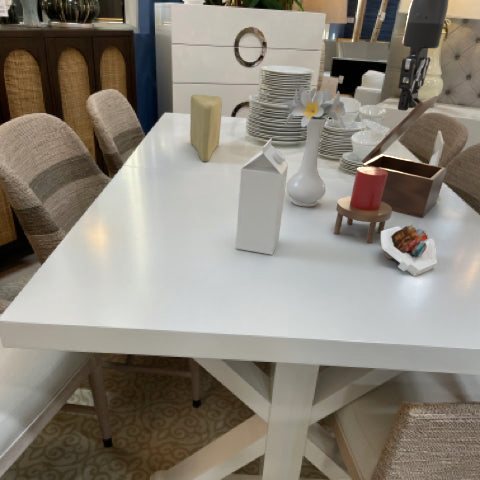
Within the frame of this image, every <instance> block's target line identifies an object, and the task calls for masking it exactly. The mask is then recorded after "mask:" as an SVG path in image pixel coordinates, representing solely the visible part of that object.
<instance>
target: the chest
mask: <svg viewBox="0 0 480 480" xmlns="http://www.w3.org/2000/svg"><path fill="white" fill-rule="evenodd" d="M361 167H375V168H380V169H383V170H385V171H387V172H388V175H387V179H386V183H385V188H384V192H383V196H382V200H381V201H382V202H384V203H386V204H388V205H389V206H390V207H391V208H392V212H395V213H396V212H397V213H400V214H405V215H408V216H412V217H416V218H420V219H423V218H424V217H425V216H426V215H427V214H428V213H429V212H430V211H431V210H432V208H434V207H435V206H436V204H437V203H438V199H439V196H440V193H441V191H442V186H443V183H444V181H445V176H446V174H447V171H448V167H444V166H440V165H434V164H431V163H425V162H421V161H414V160H411V159H406V158H401V157H395V156H391V155H386V154H383V153H382V154H381V155H379V156H377V157H375V158H373V159H371V160H369V161H368V162H366V163H362V164H361Z"/></svg>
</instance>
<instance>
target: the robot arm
mask: <svg viewBox="0 0 480 480" xmlns="http://www.w3.org/2000/svg"><path fill="white" fill-rule="evenodd" d="M448 8H449V0H411V3H410V6H409V9H408V15H407V17H406V18H407V19H406V24H405V27H404V28H405V29H404V34H403V38H402V43H401V44H402V46H403V47H405V48H409V52H408V55H407V56H406V57H403V58H402V60H401V67H400V75H399V80H398V86H397V87H398V89H399V91H400V94H399V95H400V96H399V98H398V104H397V110H398V111H403V112H405V111H408V110H409V109H414V108H415V107H414V106H413V105H412V104H411V103H410V99H411V94H412V93H411V92H417V93H418V94H419V91H421V89H422V87H423V86H424V84H425V79H426V77H427V73H428V70H429V65H430V63H431V57H428V53H429V49H437V48H439V46H440V42H441V38H442V33H443V30H444V26H445V22H446V19H447V18H446V17H447V13H448ZM414 101H415V100H414ZM415 102H416V101H415ZM416 103H417V102H416Z"/></svg>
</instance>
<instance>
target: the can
mask: <svg viewBox="0 0 480 480" xmlns="http://www.w3.org/2000/svg"><path fill="white" fill-rule="evenodd" d="M387 175H388V172H387V171H385V170H383V169H380V168H375V167H362V166H359V167H357V168H356V172H355V176H354V182H353V185H352V186H353V187H352V191H351V201H350V204H351V205H352V206H353V207H355V208H358V209H362V210H378V209H379V208H380V204H381V200H382V196H383V192H384V188H385V183H386V179H387Z"/></svg>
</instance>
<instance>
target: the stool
mask: <svg viewBox="0 0 480 480" xmlns="http://www.w3.org/2000/svg"><path fill="white" fill-rule="evenodd" d="M351 196H352V195H351ZM351 196H344V197H341V198H339V199H338V200H337V203H336V204H337V205H336V208H335V209H336V211H337V214H336V220H335V226H334V229H333V230H334V231H333V233H334V234H335V235H340V234H341V229H342V224H343V220H344V219H343V218H344V217H345V218H347V219H346V225H349V226H350V225H353V221H357V222H363V223H369V226H368V230H367V236H366V239H365V243H366V244H368V245H370V244H373V240H374V235H375V231H376V227H377V224H378V227H377V231H376V233H378V234H381V231H383V230H385V226H386V222H387V221H389V220H390V219H391V216H392V214H393V213H392V212H393V211H392V208H391V207H390V206H389V205H388V204H386V203H384V202H382V201H381V204H380V208H379V209H378V210H362V209H358V208H355V207H353V206H352V205H351V204H350V201H351Z"/></svg>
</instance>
